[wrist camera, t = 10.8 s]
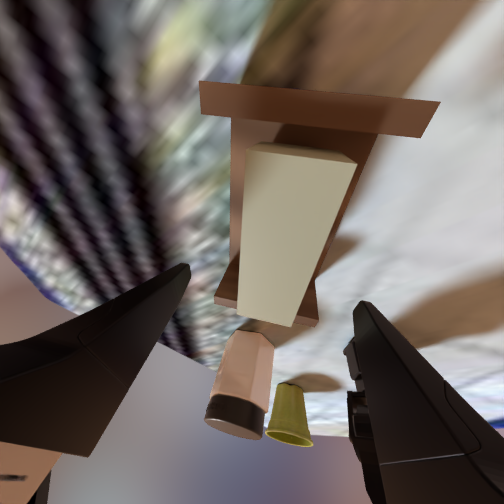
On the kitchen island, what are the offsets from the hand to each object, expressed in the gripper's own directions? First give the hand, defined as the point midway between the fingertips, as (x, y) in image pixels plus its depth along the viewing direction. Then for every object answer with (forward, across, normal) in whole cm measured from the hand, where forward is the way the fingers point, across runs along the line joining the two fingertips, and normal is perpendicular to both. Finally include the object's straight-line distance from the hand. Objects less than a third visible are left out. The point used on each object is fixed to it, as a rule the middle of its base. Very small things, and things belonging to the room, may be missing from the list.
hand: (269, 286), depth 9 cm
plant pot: (+10, -10, +44) cm, 46 cm away
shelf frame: (+10, 0, 0) cm, 10 cm away
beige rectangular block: (+6, 0, 0) cm, 6 cm away
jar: (+10, +1, +27) cm, 28 cm away
